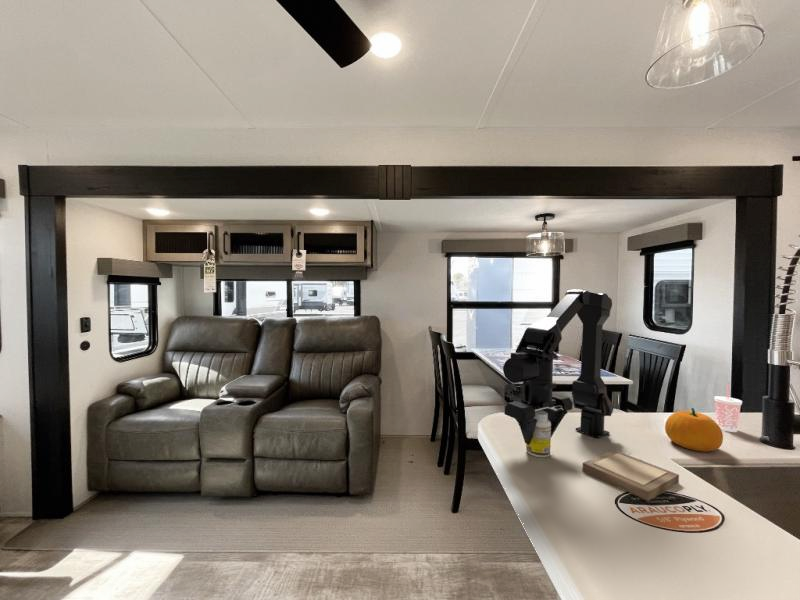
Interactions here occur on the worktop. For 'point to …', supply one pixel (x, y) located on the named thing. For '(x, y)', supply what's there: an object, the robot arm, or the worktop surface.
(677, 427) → the fruit
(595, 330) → the robot arm
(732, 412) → the beverage cup
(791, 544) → the worktop surface
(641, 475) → the brown picture frame
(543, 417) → the supplement bottle
